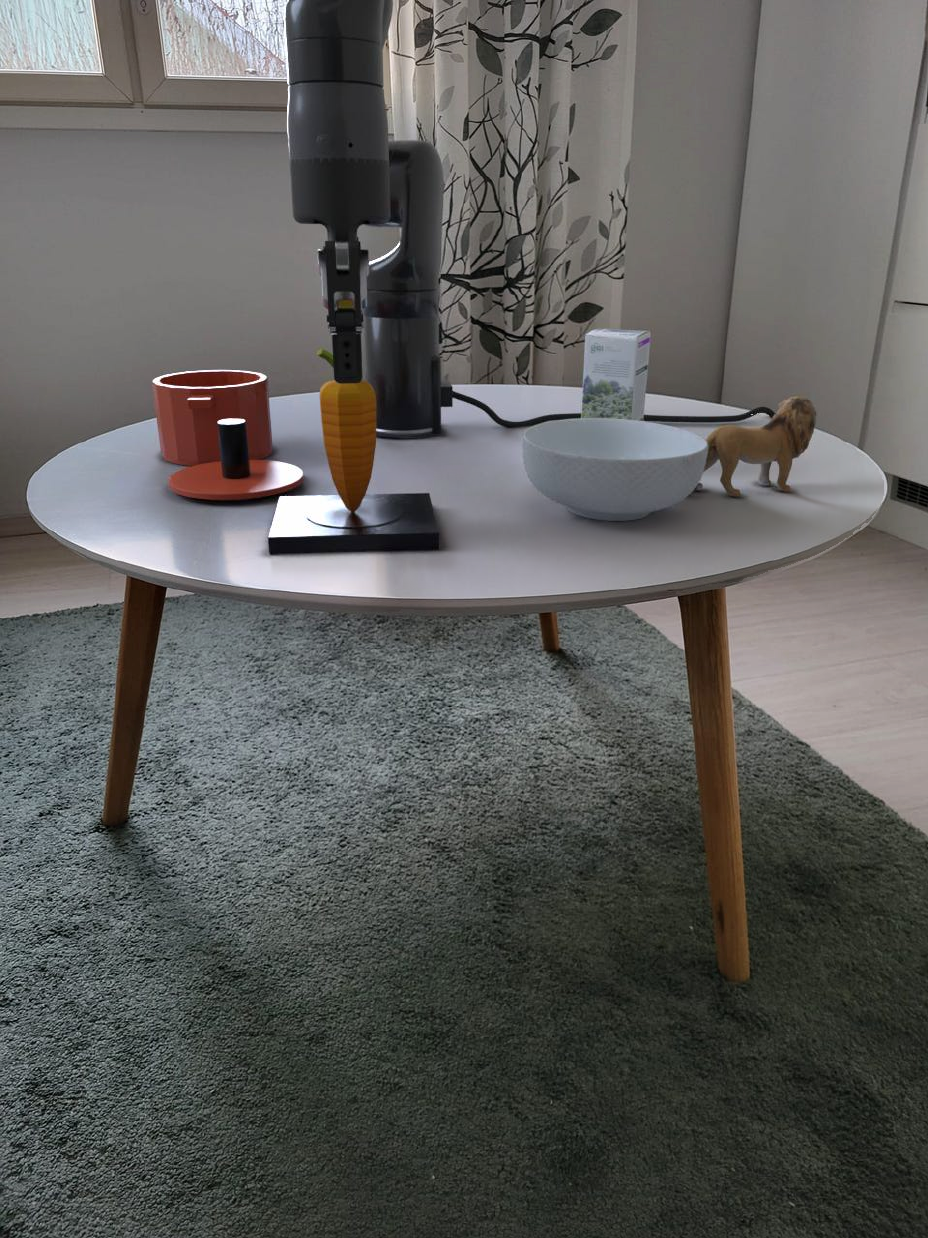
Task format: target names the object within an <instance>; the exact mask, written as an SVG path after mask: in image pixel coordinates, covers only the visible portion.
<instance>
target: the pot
mask: <svg viewBox="0 0 928 1238" xmlns="http://www.w3.org/2000/svg"><path fill="white" fill-rule="evenodd" d="M268 381H269V380H268V376H267V375H265V374H263V373H261V372H256V371H249V370H232V369H209V370H208V369H207V370H206V369H205V370H194V371H193V370H192V371H183V372H175V373H168V374H165V375H161V376H158V377H155V378H154V379H153V380H151V385H152V394H153V401H154V410H155V418H156V425H157V433H158V440H159V448H160V453H161V456H162V459H163V460H164V461H166V462H168V463H172V464H175V465H180V466H188V467H191V466H195V465H200V464H205V463H211V462H219V461H221V457H220V448H219V438H218V428H217V422H218V421H220V420H224V419H242V420H245V421H246V428H247V439H248V450H249V460H263V459H265V458H267V457H269V456H270V455H271V454H272V453H273V434H272V433H273V431H272V420H271V408H270V407H271V406H270V394H269V382H268Z"/></svg>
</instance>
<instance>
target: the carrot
mask: <svg viewBox="0 0 928 1238" xmlns="http://www.w3.org/2000/svg"><path fill="white" fill-rule="evenodd" d="M316 354H317V356H318V357H320V358H322V359H323V360H324V361H325V360H326V362H327V363H328V364H329V365H330V366H331V367H332V368H333V369H334V367H333V353H331V352H330V351H327V350H326V349H324V348H321V349H319V350H317V353H316ZM319 409H320V417H321V418H320V420H321V429H322V430H321V431H322V436H323V437H322V438H323V446H324V449H325V454H326V459H327V464H328V467H329V471H330V475H331V479H332V482H333V484H334V487H335V490H336V492H337V495H339V496H340V498H341V499H342V501H343V503H344V505H345V507H346V508H347V509H348V510H349V511H350V512H352V513H354V512H355V511H356V510H357V509H358V508H359V507H360V505H361V502H362V500H363V498H364V496H365V494H367V491H368V488H369V485H370V482H371V479H372V474H373V468H374V463H375V455H376V447H377V435H376V394H375V391H374V389H373V387H372V386H371V385H370V384H369V383H368V382H366V380H364V379H362V380H361V382H359V383H347V384H340V383H337V382H336V381H335V379H333V380H329V381H326V382H324V383H323V384H322V386H321V387H320V388H319Z"/></svg>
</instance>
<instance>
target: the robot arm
mask: <svg viewBox="0 0 928 1238" xmlns="http://www.w3.org/2000/svg"><path fill="white" fill-rule="evenodd" d="M393 8H394V0H287V1H286V3H285V6H284V16H283V22H284V23H283V24H284V40H285V56H286V57H285V59H286V71H287V85H288V87H287V91H288V93H287V94H288V98H287V113H286V126H287V127H286V128H287V129H286V130H287V140H288V141H287V143H288V144H287V145H288V157H289V159H288V160H289V175H290V189H291V205H292V206H291V207H292V216H293V219H294V221H295V222H296V223H298V224H301V225H322V226H323V227H324V228H325V229H326V232H327V233H326V234H327V236H326V237H327V240H324V245H323V246H322V249H319V248H318V250H317V266H318V274H319V276H320V277H321V296H322V297H321V298H322V304H323V305H322V306H323V307H324V308H325V309H327V312H328V313H327V315H326V323H327V329H329V334H331V345H332V355H333V367H334V368H333V367H332V368H333V380H335V381H336V382H337V383H340V384H347V383H359V382H361V380H363V350H362V349H363V348H362V334H363V341H364V342H363V343H364V367H365V369H364V371H365V381H366V382H368V383H369V384H370V385H371V386H372V387H373V389H374V391H375V394H376V437H377V436H378V437H384V438H393V439H394V438H395V439H396V438H397V439H398V438H399V439H409V438H421V437H428V436H434V435H438V436H439V435H442V408H453V405H454V404H453V403H454V401H453V400H458V401H461V402H464V403H465V404H469V405H472V406H475V407H476V408H478V409H480V410H482V411H483V412H484V413H486V414H487V416H489V418H491V420H492V421H493V422H494V423H496V424H497V425H499V426H501V427H504V428H509V429H511V428H513V429H514V428H521V427H529V426H535V425H538V424H542V423H545V422H550V421H556V420H564V419H577V418H581V412H573V413H571V412H570V413H553V414H552V413H551V414H546V415H541V416H537V417H534V418H533V417H532V418H530V419H525V420H522V421H521V420H520V421H510V420H506V419H504V418H502V417H500V416H499V415H497V413H496V412H495V411H494V409H492V408H491V407H490V406H488V405H487V404H486V403H484V402H482V401H480V400H479V399H476V398H473V397H471V396H468V395H465V394H464V393H461V392H457V391H454V390H453V389H454V388H453V385H452V383H451V381H450V380H442V371H441V370H442V361H441V360H442V359H441V356H440V328H439V327H440V316H439V315H440V313H439V312H440V310H439V309H440V307H439V305H440V303H439V301H440V299H439V296H440V295H439V292H440V291H439V287H440V286H439V285H440V283H439V280H440V279H439V277H440V270H441V263H442V244H443V243H442V241H443V239H442V238H443V236H442V235H443V215H444V195H445V194H444V191H445V190H444V189H445V184H444V183H445V182H444V170H443V164H442V160H441V157H440V154H439V152H438V150H437V148H436V147H435V146H434V145H433V144H432V143H431V142H430V141H427V140H423V139H422V140H421V139H409V140H408V139H407V140H405V139H404V140H403V139H402V140H389V124H388V123H389V121H388V113H387V106H386V100H385V88H384V87H385V86H384V85H385V84H384V55H383V54H384V51H383V50H384V47H385V44H386V41H387V37H388V33H389V30H390V26H391V22H392V17H393V11H394V9H393ZM361 226H363V227H367V228H376V229H377V228H381V229H383V228H384V229H400V230H401V232H400V239H399V242H398V244H396V246H395V247H394V248H393V249H392V250H391V251H389V252H388V253H387V254H385V255H382V256H380V257H378V258H376V259H373V260H371V261H370V252H369V248H368V249H367V248H366V249H362V248H361V247H362V246H361V241H359V236H358V229H359V228H360V227H361ZM757 413H758V414H757ZM751 414H753V415H751ZM759 414H765V415H767V416H768V415H769V416H768V417H769V418H770V419H772V417H773V416H774V415H775V414H776V413H775V411H773V409H772V408H770V407H767V406H759V407H756V408H753V409H751V410H749V411H747V412H744V413H741V414H735V415H706V416H705V415H704V416H702V415H659V414H644V418H643V421H644V422H653V423H692V424H693V423H694V424H695V423H698V424H699V423H701V424H704V423H705V424H706V423H707V424H713V423H714V424H715V423H716V424H717V423H735V422H741V421H744V420H747V419H750V418H752V417H754V416H756V415H759Z"/></svg>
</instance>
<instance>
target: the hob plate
mask: <svg viewBox="0 0 928 1238" xmlns="http://www.w3.org/2000/svg"><path fill="white" fill-rule="evenodd" d="M267 543H268V554H269V555H299V554H300V555H301V554H333V553H334V554H335V553H365V552H366V553H367V552H368V553H369V552H397V551H398V552H400V551H433V550H434V551H436V550H437V551H438V550H440V531H439V526H438V522H437V519H436V514H435V511H434V505H433V503H432V498H431V494H430V493H429V492H413V493H412V492H408V493H407V492H406V493H370V494H369V493H368V494H367V493H366V494H365V496H364V498H363V500H362V502H361V505H360V507H359V508H358V509H357V510H356V511H355V512H354V513H352V512H350V511H349V510H348V509H347V508H346V507H345V505H344V503H343V501H342V499H341V498H340V496H339V494H327V495H324V494H323V495H288V496H287V495H285V496H283V495H282V496H281V495H280V496H279V497H278V500H277V504H276V509H275V512H274V514H273V518H272V522H271V525H270V529H269V533H268V536H267Z"/></svg>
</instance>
